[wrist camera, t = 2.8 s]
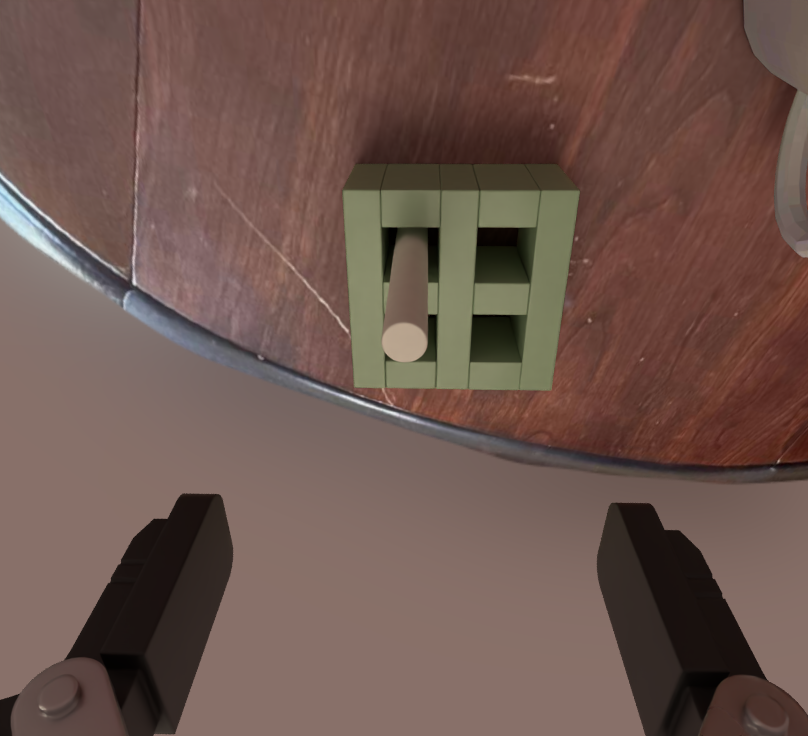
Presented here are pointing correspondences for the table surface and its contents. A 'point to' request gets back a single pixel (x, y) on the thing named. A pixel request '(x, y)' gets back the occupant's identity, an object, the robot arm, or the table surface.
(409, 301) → the stylus
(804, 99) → the mug
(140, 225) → the table surface
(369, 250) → the pen stand
